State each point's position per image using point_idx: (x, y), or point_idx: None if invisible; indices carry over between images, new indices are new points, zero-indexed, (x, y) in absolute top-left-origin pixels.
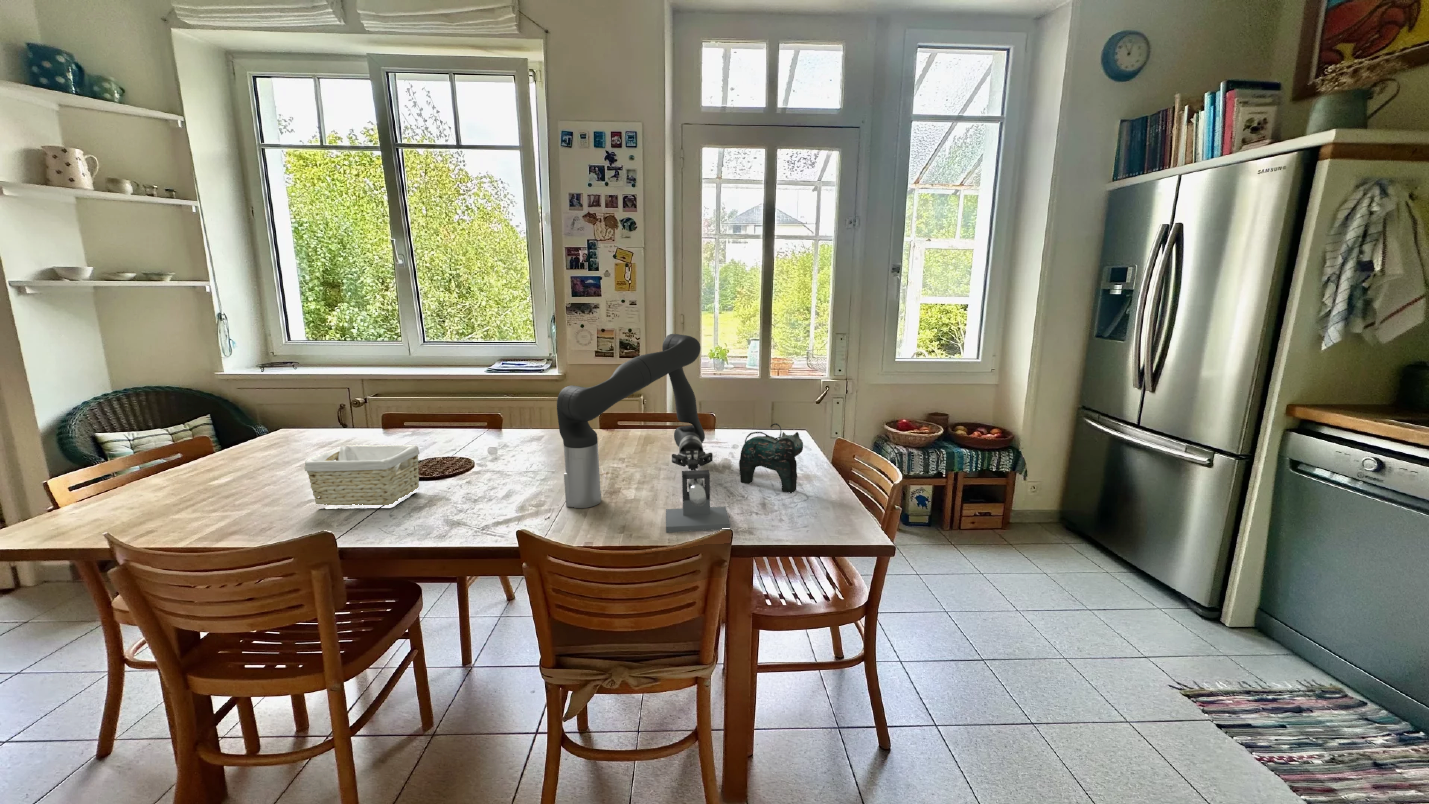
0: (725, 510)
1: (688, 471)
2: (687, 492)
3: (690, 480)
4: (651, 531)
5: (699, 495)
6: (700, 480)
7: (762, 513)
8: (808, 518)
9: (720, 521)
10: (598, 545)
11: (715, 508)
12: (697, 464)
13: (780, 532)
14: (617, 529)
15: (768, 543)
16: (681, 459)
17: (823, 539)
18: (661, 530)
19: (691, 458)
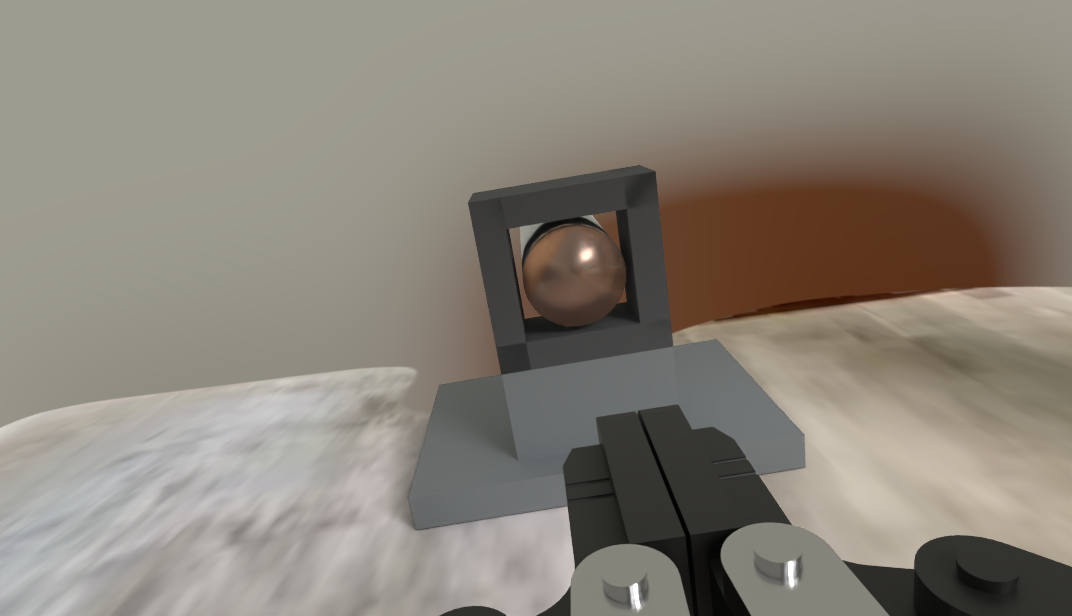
0: (424, 462)
1: (608, 177)
2: (635, 319)
3: (599, 227)
4: (788, 361)
5: None
6: (536, 228)
7: (209, 533)
8: (35, 512)
9: (477, 389)
10: (934, 294)
11: (478, 472)
12: (572, 459)
13: (261, 418)
14: (967, 349)
15: (346, 373)
16: (1038, 583)
17: (157, 407)
18: (746, 370)
19: (735, 567)
